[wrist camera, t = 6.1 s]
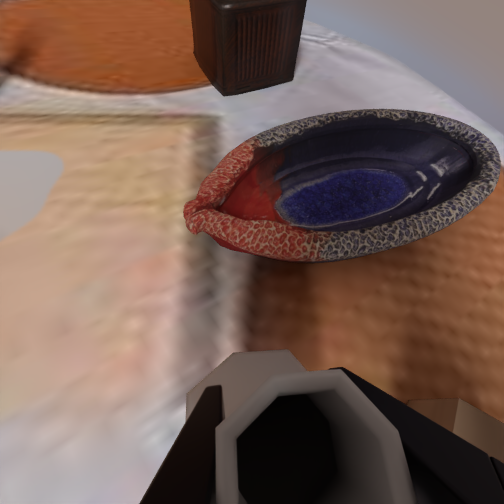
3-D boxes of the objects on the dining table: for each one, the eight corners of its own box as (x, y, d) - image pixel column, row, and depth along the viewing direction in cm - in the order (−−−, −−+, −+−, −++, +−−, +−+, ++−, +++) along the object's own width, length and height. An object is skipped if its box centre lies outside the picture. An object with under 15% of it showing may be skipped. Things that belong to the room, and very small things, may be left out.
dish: (512, 225, 28) (564, 191, 23) (209, 316, 21) (203, 292, 17) (421, 126, 35) (448, 85, 30) (172, 172, 28) (161, 129, 24)
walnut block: (482, 444, 18) (560, 455, 14) (470, 534, 16) (558, 582, 12) (407, 400, 19) (458, 397, 15) (386, 479, 17) (439, 504, 13)
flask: (294, 327, 15) (374, 225, 7) (368, 481, 12) (698, 668, 4) (164, 382, 14) (41, 343, 5) (211, 576, 11) (108, 1373, 2)
